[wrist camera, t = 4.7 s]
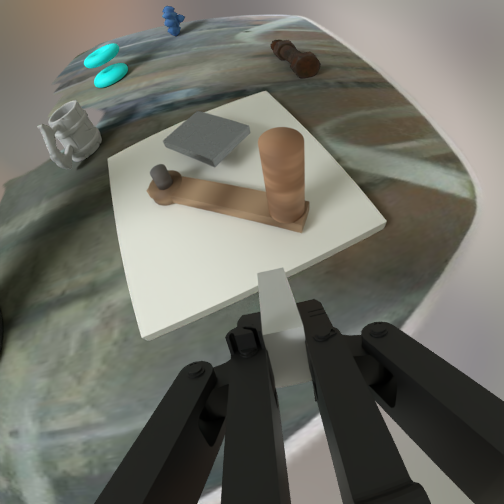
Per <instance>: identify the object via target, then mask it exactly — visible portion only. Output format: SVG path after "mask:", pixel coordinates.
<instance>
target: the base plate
mask: <svg viewBox="0 0 504 504" xmlns="http://www.w3.org/2000/svg"><path fill="white" fill-rule="evenodd" d="M205 113H208V114H212V115H215V116H219V117H222V118H226V119H229V120H233V121H236V122H239V123H242V124H246V125H249V127H250V132H251V133H250V134H249V135H248V136H247V137H246V138H245V139H244V140H243V141H241V142H240V143H239V144H238V145H237V146H236V147H235V148H234V149H233V150H232V151H231V152H230V153H229V154H228V155H227V156H226V157H225V158H224V159H223V160H222V161H221V162H220V163H219V164H218V165H217V166H216V167H213V166H210V165H208V164H206V163H203V162H201V161H198V160H196V159H193V158H191V157H189V156H186V155H184V154H181V153H179V152H176V151H174V150H171V149H169V148H166V147H165V145H164V143H163V140H164V139H165V138H166V137H167V136H169V135H170V134H171V133H172V132H173V131H174V130H175V129H177V128H178V127H179V126H180V125H181V124H182V123H184V122H185V121H186V120H185V121H183V122H181V123H178V124H176V125H174V126H172V127H169V128H167V129H165V130H163V131H161V132H159V133H156V134H154V135H152V136H150V137H148V138H146V139H144V140H142V141H140V142H138V143H136V144H134V145H132V146H130V147H128V148H126V149H125V150H123V151H121V152H119V153H117V154H115V155H113V156H112V157H110V158H108V168H109V178H110V186H111V194H112V202H113V209H114V215H115V222H116V228H117V234H118V239H119V245H120V250H121V255H122V260H123V265H124V270H125V274H126V279H127V283H128V287H129V292H130V296H131V300H132V304H133V308H134V312H135V315H136V319H137V323H138V326H139V330H140V333H141V337H142V338H143V339H145V340H148V341H150V340H152V339H154V338H157V337H159V336H161V335H164V334H166V333H168V332H171V331H173V330H175V329H177V328H180V327H182V326H184V325H187V324H189V323H191V322H193V321H196V320H198V319H200V318H202V317H204V316H207V315H209V314H211V313H213V312H216V311H218V310H220V309H222V308H224V307H227V306H229V305H231V304H233V303H235V302H237V301H239V300H242V299H244V298H246V297H248V296H250V295H252V294H254V293H257V292H259V288H258V276H257V273H260V272H265V271H269V270H274V269H278V268H284V271H285V274H286V277H287V278H288V277H290V276H292V275H294V274H296V273H298V272H300V271H302V270H304V269H306V268H308V267H310V266H312V265H314V264H316V263H318V262H320V261H322V260H324V259H326V258H328V257H330V256H332V255H334V254H336V253H338V252H340V251H342V250H344V249H346V248H348V247H350V246H352V245H354V244H356V243H358V242H359V241H361V240H363V239H365V238H367V237H369V236H371V235H373V234H375V233H377V232H379V231H380V230H382V229H384V227H385V224H386V222H387V221H386V220H385V219H384V217H383V216H382V215H381V213H380V212H379V211H378V210H377V208H376V207H375V206H374V205H373V203H372V202H371V201H370V200H369V198H368V197H367V196H366V195H365V194H364V192H363V191H362V190H361V189H360V188H359V186H358V185H357V184H356V183H355V182H354V181H353V179H352V178H351V177H350V176H349V175H348V174H347V173H346V171H345V170H344V169H343V168H342V167H341V166H340V165H339V164H338V162H337V161H336V160H335V159H334V158H333V157H332V156H331V155H330V154H329V153H328V151H327V150H326V149H325V148H324V147H323V146H322V145H321V144H320V143H319V142H318V141H317V140H316V139H315V138H314V137H313V136H312V135H311V134H310V133H309V132H308V131H307V130H306V129H305V128H304V127H303V126H302V125H301V124H300V123H299V122H298V121H297V120H296V119H295V118H294V117H293V116H292V115H291V114H290V113H289V112H288V111H287V110H286V109H285V108H284V107H283V106H282V105H281V104H280V103H279V102H278V101H276V100H275V99H274V98H273V97H272V96H271V95H270V94H269V93H268V92H267V91H263V92H260V93H257V94H254V95H251V96H248V97H245V98H242V99H239V100H236V101H234V102H231V103H228V104H225V105H223V106H220V107H217V108H215V109H212V110H210V111H207V112H205ZM276 127H288V128H292V129H295V130H297V131H298V132H300V133H301V134H302V135H303V137H304V152H305V201H309V202H310V207H309V213H308V216H307V219H306V222H305V225H304V228H303V231H302V233H299V232H295V231H291V230H287V229H283V228H279V227H275V226H271V225H267V224H262V223H258V222H254V221H250V220H246V219H242V218H237V217H233V216H229V215H225V214H220V213H216V212H212V211H207V210H203V209H198V208H194V207H190V206H185V205H181V204H176V203H173V204H171V205H166V206H162V205H158V204H157V203H156V202H155V201H154V200H153V198H151V197H150V196H149V194H148V193H147V191H146V190H147V189H148V187H149V184H150V182H151V181H152V180H153V179H152V177H151V175H150V171H151V169H152V168H153V167H154V166H156V165H158V164H163V165H165V166H166V168H167V170H174V171H177V172H179V173H180V174H181V176H184V177H190V178H196V179H201V180H207V181H213V182H218V183H224V184H229V185H234V186H239V187H245V188H250V189H254V190H259V191H264V192H266V189H265V183H264V177H263V171H262V165H261V159H260V153H259V147H258V139H259V137H260V136H261V135H262V134H263V133H264V132H265V131H267V130H269V129H272V128H276Z"/></svg>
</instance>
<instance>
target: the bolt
mask: <svg viewBox="0 0 504 504" xmlns="http://www.w3.org/2000/svg"><path fill="white" fill-rule="evenodd" d="M271 49H272V50H273V52H274V54H275V55H276V56H277V57H278V58H279V59H280V60H287V61H288V62H289V63H291V66H290V67H291V69H292V70H293V71H294V72H295V73H296V75H297V76H298V77H299V78H308V77H312V76H315V75H316V74H317V72H318V70H319V68H320V62H319V60H318V59H317V57H316V56H315V55H314V54H313V53H312V52H305V53H301V52H299V51H298V50H297V49H296V47H295V46H294V45H293V44H292V43H291V42H290V41H289V40H284V41H282V40H274V41H272V44H271Z"/></svg>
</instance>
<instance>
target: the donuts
mask: <svg viewBox="0 0 504 504" xmlns="http://www.w3.org/2000/svg"><path fill="white" fill-rule="evenodd" d="M118 51H119V46H118V45H117V44H115V43H112V44H108V45H105V46H103V47H101V48H99V49H97V50H96V51H94V52H93V53H91V54H90V55H89V56H88V57H87V58H86V59H85V61H84V65H85V66H86V67H87V68H96V67H99V66H101V65H103V64H105V63H107V62H108V61H110V60H111V59H113V58H114V57H115V56H116V55H117V53H118ZM127 72H128V67H127V65H126V64H124V63H116V64H113V65H110V66H108V67H107V68H105V69H103V70H102V71H101V72H100V73H99V74H98V75H97V76H96V78H95V80H94V84H95V86H96V87H98V88H104V87H107V86H110V85H112V84H114V83H116V82H117V81H119V80H120V79H122V78H123V77H124V76H125V75H126V73H127Z"/></svg>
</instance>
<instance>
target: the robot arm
mask: <svg viewBox="0 0 504 504" xmlns="http://www.w3.org/2000/svg"><path fill="white" fill-rule="evenodd" d="M257 276H258V288H259V300H260V312H257V313H252V314H247V315H242V316H241V318H240V319H239V320H238V323H237V327H236V328H234V329H232V330H231V331H230V332H228V333H227V335H226V337H225V338H226V341H227V344H228V347H229V350H230V353H231V359H230V360H229V361H228V362H226V363H224V364H222V365H219V366H216V367H214V368H213V367H212V365H211V364H210V363H208V362H205V361H199V362H193V363H191V364H189V365H187V366H185V367H184V368H183V369H182V370H181V371H180V373H179V374H178V376H177V377H176V379H175V380H174V382H173V384H172V385H171V387H170V388H169V390H168V391H167V393H166V394H165V396H164V397H163V399H162V401H161V402H160V404H159V405H158V407H157V408H156V410H155V411H154V413H153V414H152V416H151V418H150V419H149V421H148V422H147V424H146V425H145V427H144V428H143V430H142V431H141V433H140V435H139V436H138V438H137V439H136V441H135V442H134V444H133V445H132V447H131V448H130V450H129V451H128V453H127V454H126V456H125V458H124V459H123V461H122V462H121V464H120V465H119V467H118V468H117V470H116V471H115V473H114V474H113V476H112V477H111V479H110V481H109V482H108V484H107V485H106V487H105V488H104V490H103V491H102V493H101V494H100V496H99V497H98V499H97V500H96V502H95V503H94V504H197V503H198V500H199V498H200V496H201V493H202V491H203V489H204V486H205V484H206V481H207V479H208V476H209V474H210V471H211V469H212V467H213V464H214V462H215V459H216V457H217V454H218V451H219V449H220V446H221V444H222V441H223V439H224V436H225V446H224V462H223V477H222V494H221V504H291V500H290V491H289V483H288V474H287V466H286V458H285V450H284V442H283V434H282V426H281V418H280V410H279V402H278V396H277V392H276V388H280V387H285V386H290V385H295V384H300V383H304V382H309V381H313V388H314V395H315V402H316V401H317V403H318V407H319V411H320V415H321V418H322V422H323V426H324V430H325V434H326V437H327V441H328V445H329V449H330V453H331V457H332V460H333V465H334V468H335V473H336V477H337V481H338V485H339V489H340V493H341V497H342V502H343V504H431V502H430V500H429V498H428V496H427V494H426V492H425V490H424V488H423V487H422V486H421V485H420V484H419V483H416V482H413V481H412V480H411V478H410V476H409V474H408V472H407V470H406V467H405V465H404V463H403V460H402V458H401V456H400V454H399V451H398V449H397V447H396V445H395V443H394V441H393V438H392V436H391V434H390V432H389V430H388V428H387V426H386V423H385V421H384V419H383V417H382V415H381V413H380V411H379V409H378V406H377V404H376V402H377V403H378V404H379V405H380V406H381V407H382V408H383V409H384V411H385V412H386V413H387V414H388V415H389V416H390V417H391V418H392V419H393V420H394V421H395V422H396V423H397V424H398V425H399V426H400V427H401V428H402V429H403V430H404V431H405V433H406V434H408V436H409V437H410V438H411V439H412V440H413V441H414V442H415V443H416V444H417V445H418V446H419V447H420V448H421V449H422V450H423V451H424V452H425V453H426V454H427V455H428V457H430V458H431V460H432V461H433V462H434V463H435V464H436V465H437V466H438V467H439V468H440V469H441V470H442V471H443V472H444V473H445V474H446V475H447V476H448V477H449V478H450V479H451V480H452V481H453V482H454V483H455V484H456V485H457V486H458V487H459V488H460V489H461V490H462V491H463V492H464V493H465V494H466V495H467V497H468V498H469V499H471V500H472V502H473V503H475V504H504V401H502V400H501V399H500V398H498V397H497V396H495V395H494V394H492V393H491V392H490V391H488V390H487V389H485V388H484V387H482V386H481V385H480V384H478V383H477V382H475V381H474V380H472V379H471V378H470V377H468V376H467V375H465V374H464V373H462V372H461V371H459V370H458V369H457V368H455V367H454V366H452V365H451V364H449V363H448V362H447V361H445V360H444V359H442V358H441V357H439V356H438V355H436V354H435V353H433V352H432V351H430V350H429V349H428V348H426V347H424V346H423V345H422V344H420V343H419V342H417V341H416V340H414V339H413V338H411V337H410V336H408V335H407V334H405V333H404V332H403V331H401V330H400V329H398V328H397V327H395V326H394V325H392V324H390V323H387V322H374V323H371V324H368V325H367V326H365V327H364V328H363V330H362V331H361V335H353V336H349V335H342V334H341V333H340V331H339V330H338V329H337V328H334V327H333V326H332V324H331V322H330V320H329V318H328V316H327V314H326V312H325V310H324V308H323V306H322V304H321V303H320V302H318V301H317V300H315V299H312V300H308V301H304V302H299V303H295V300H294V297H293V294H292V291H291V288H290V285H289V282H288V279H287V277H286V274H285V271H284V268H278V269H274V270H269V271H265V272H260V273H257ZM2 334H3V324H2V315H1V310H0V351H1V345H2ZM275 386H276V387H275ZM375 401H376V402H375Z"/></svg>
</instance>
